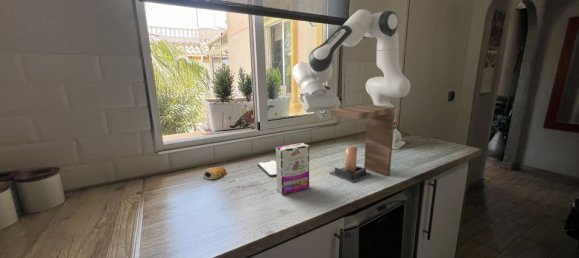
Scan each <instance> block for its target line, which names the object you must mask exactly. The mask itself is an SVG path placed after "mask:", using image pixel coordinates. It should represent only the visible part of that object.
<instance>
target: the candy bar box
mask: <svg viewBox="0 0 579 258" xmlns="http://www.w3.org/2000/svg"><path fill="white" fill-rule="evenodd" d="M275 161H276V170H277V177H276V190H277V191H278V192H279V193H280V194H281V195H282V196H285V195H289V194H293V193H297V192H300V191H305V190H308V189H310V145H309V144H307V143H304V142H299V143H294V144H286V145H281V146H276V147H275Z"/></svg>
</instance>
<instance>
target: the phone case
mask: <svg viewBox="0 0 579 258" xmlns="http://www.w3.org/2000/svg"><path fill="white" fill-rule="evenodd" d="M257 167H259V169H260V170H261V171H262V172H264V174H265V175H267V177H269V178H277V170H276V160H268V161H261V162H258V163H257Z"/></svg>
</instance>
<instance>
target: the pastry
mask: <svg viewBox="0 0 579 258" xmlns="http://www.w3.org/2000/svg"><path fill="white" fill-rule="evenodd" d="M226 171H227V170H226V168H224V167H222V166H215V167H213V166H211V167H209V168H207V169H205V170H204V172H203V173H202V176H203V178H204V179H208V180H217V179H218V178H222V177H223V176H224V175H226Z"/></svg>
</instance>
